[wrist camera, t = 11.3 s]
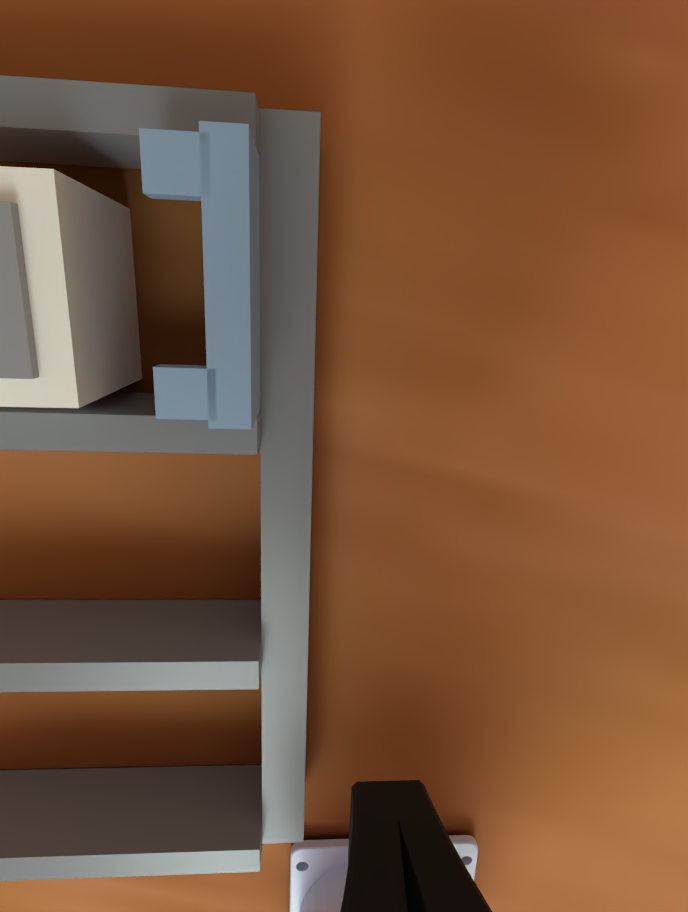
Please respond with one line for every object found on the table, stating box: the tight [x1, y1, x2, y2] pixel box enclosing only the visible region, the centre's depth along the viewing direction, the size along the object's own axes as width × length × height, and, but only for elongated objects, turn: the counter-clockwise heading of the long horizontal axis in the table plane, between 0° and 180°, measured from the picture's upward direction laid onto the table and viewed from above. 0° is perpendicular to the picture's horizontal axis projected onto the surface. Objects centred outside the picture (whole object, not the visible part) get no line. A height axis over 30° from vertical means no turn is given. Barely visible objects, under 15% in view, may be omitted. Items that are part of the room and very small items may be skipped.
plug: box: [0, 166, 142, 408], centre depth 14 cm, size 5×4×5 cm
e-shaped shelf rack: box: [0, 75, 321, 881], centre depth 16 cm, size 24×12×5 cm, turn 178°
